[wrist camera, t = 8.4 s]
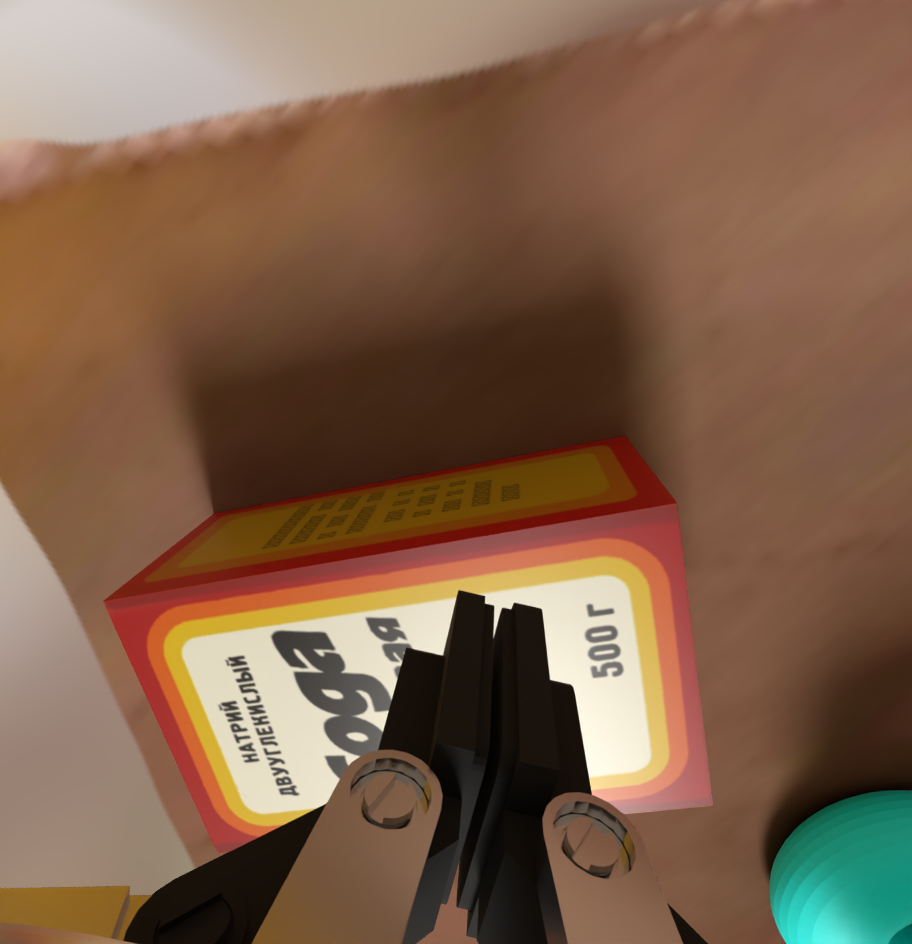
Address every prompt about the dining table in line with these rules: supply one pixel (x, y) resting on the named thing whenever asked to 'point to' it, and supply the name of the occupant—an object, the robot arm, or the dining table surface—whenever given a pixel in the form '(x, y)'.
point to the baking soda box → (417, 626)
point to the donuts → (847, 873)
